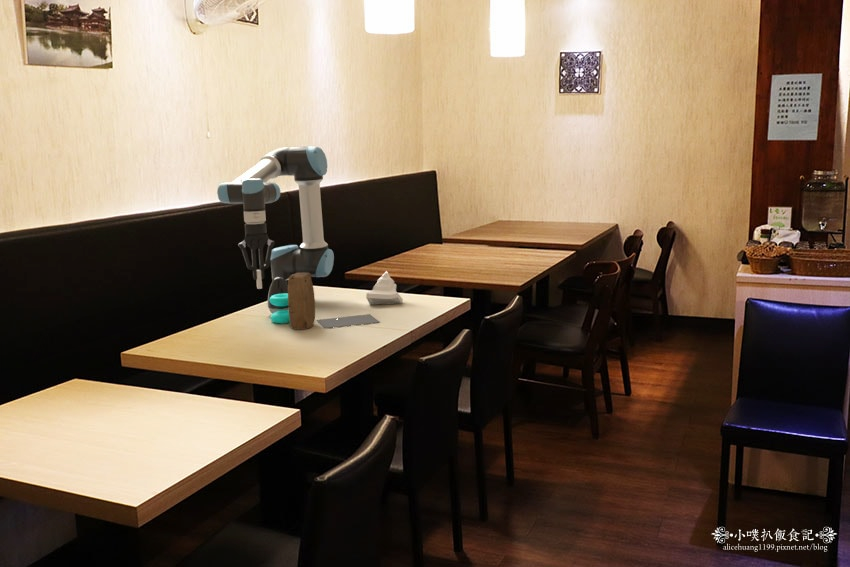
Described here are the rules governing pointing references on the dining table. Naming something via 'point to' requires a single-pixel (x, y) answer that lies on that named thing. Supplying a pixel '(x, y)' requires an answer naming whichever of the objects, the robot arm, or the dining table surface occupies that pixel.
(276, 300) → the donuts
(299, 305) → the block
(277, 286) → the dark grey tapered piece
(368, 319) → the mat
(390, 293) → the soft serve ice cream
